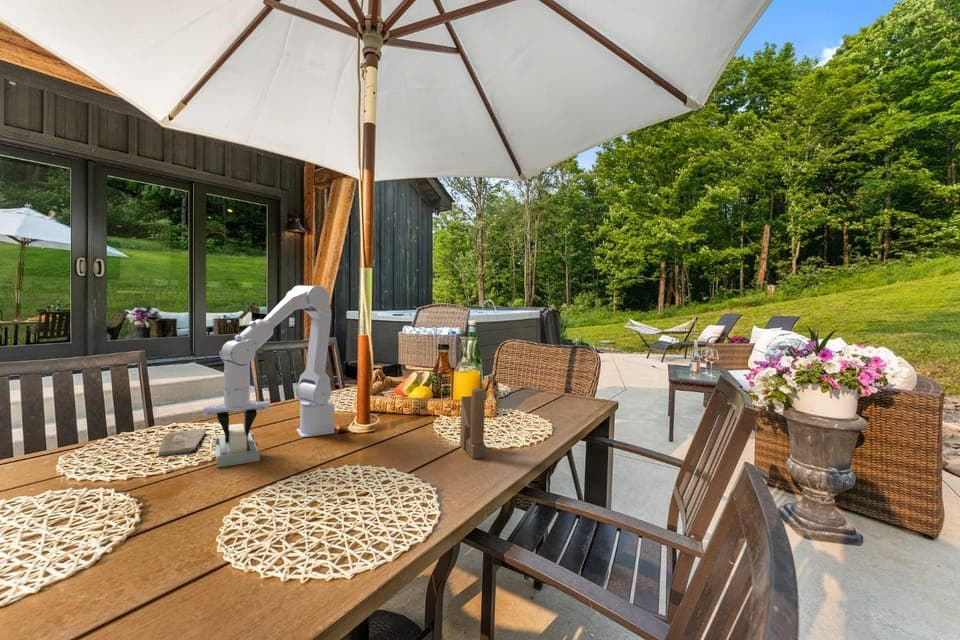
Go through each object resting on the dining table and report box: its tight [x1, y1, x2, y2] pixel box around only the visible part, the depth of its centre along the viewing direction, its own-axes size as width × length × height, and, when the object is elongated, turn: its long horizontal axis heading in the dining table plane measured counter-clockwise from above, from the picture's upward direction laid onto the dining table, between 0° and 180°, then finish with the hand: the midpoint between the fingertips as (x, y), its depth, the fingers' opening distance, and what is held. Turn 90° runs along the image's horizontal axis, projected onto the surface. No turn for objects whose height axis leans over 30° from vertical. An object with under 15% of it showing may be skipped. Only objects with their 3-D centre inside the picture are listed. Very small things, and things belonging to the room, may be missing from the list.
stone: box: [158, 428, 207, 456], centre depth 116 cm, size 18×3×10 cm
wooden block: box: [459, 387, 487, 460], centre depth 117 cm, size 4×11×18 cm, turn 21°
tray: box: [214, 431, 261, 468], centre depth 110 cm, size 9×16×3 cm, turn 33°
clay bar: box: [228, 423, 247, 454], centre depth 110 cm, size 12×4×5 cm, turn 33°
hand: (236, 440), depth 110 cm, fingers closed on clay bar, 3 cm apart
